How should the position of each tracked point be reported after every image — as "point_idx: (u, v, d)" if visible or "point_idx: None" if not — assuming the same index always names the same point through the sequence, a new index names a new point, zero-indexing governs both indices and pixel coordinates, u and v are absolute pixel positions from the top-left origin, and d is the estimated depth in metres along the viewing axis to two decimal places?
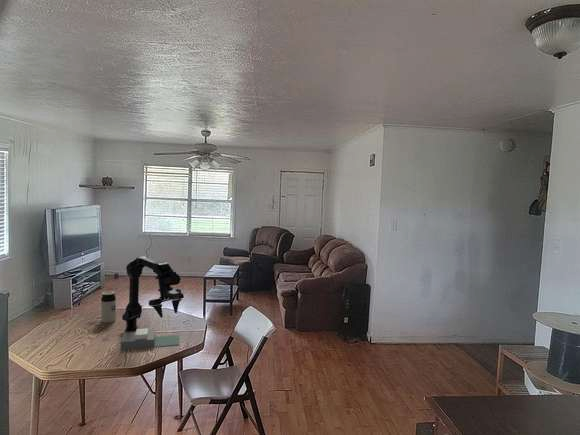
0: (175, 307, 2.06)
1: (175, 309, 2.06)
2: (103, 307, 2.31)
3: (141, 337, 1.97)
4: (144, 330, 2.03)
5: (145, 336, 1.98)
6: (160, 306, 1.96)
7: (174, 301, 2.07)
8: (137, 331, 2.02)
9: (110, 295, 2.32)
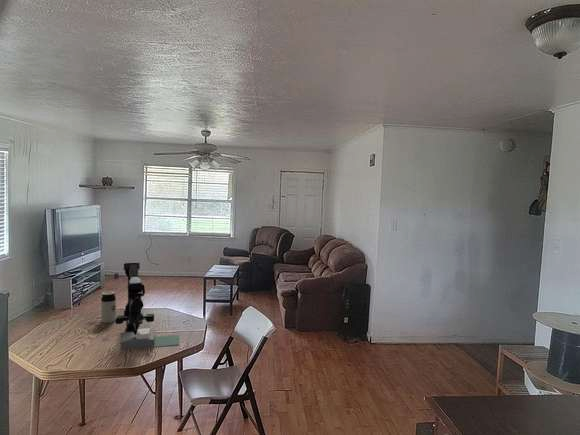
0: (135, 328, 2.00)
1: None
2: (103, 307, 2.31)
3: (142, 337, 1.98)
4: (145, 330, 2.03)
5: (146, 336, 1.98)
6: (131, 325, 1.98)
7: None
8: (138, 331, 2.02)
9: (110, 295, 2.32)
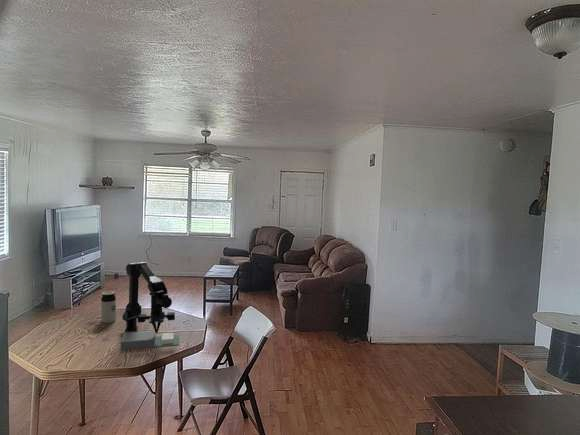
0: (157, 327, 2.03)
1: (156, 329, 2.04)
2: (103, 307, 2.31)
3: (167, 340, 2.01)
4: None
5: (163, 341, 2.01)
6: (153, 323, 2.01)
7: None
8: None
9: (110, 295, 2.32)
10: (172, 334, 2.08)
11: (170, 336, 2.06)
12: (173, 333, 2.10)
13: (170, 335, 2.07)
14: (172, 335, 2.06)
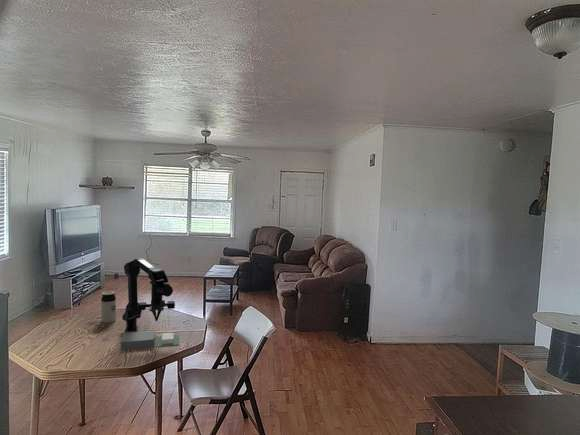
0: (157, 315, 2.06)
1: (156, 317, 2.06)
2: (103, 307, 2.31)
3: (167, 340, 2.01)
4: None
5: (163, 341, 2.01)
6: (153, 311, 2.03)
7: None
8: None
9: (110, 295, 2.32)
10: (172, 334, 2.08)
11: (170, 336, 2.06)
12: (173, 333, 2.10)
13: (170, 335, 2.07)
14: (172, 335, 2.06)
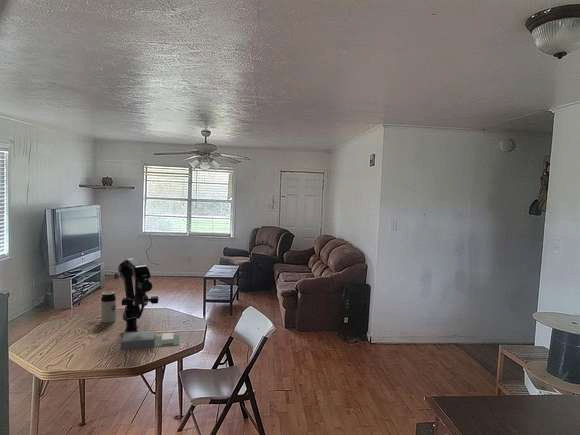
0: (140, 310, 2.10)
1: (140, 312, 2.10)
2: (103, 307, 2.31)
3: (167, 340, 2.01)
4: None
5: (163, 341, 2.01)
6: (137, 306, 2.07)
7: None
8: None
9: (110, 295, 2.32)
10: (172, 334, 2.08)
11: (170, 336, 2.06)
12: (173, 333, 2.10)
13: (170, 335, 2.07)
14: (172, 335, 2.06)
